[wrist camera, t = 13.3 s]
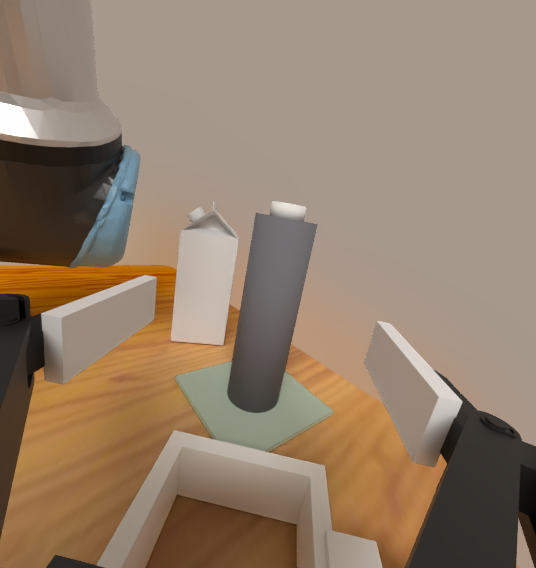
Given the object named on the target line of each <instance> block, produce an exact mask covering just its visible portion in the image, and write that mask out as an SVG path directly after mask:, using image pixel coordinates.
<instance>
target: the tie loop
mask: <svg viewBox="0 0 536 568" xmlns="http://www.w3.org/2000/svg"><path fill="white" fill-rule="evenodd" d="M176 495H181V496H185V497H189V498H193V499H197V500H201V501H205V502H209V503H213V504H217V505H221V506H225V507H229V508H233V509H237V510H241V511H245V512H249V513H253V514H257V515H261V516H265V517H269V518H273V519H277V520H281V521H285V522H289V523H293V524H297V568H383V567H382V563H381V559H380V555H379V551H378V547H377V543H376V541H373V540H369V539H365V538H361V537H357V536H353V535H349V534H345V533H341V532H337V531H333V530H332V522H331V514H330V505H329V497H328V488H327V480H326V471H325V466H324V465H320V464H316V463H312V462H308V461H303V460H299V459H295V458H291V457H286V456H282V455H278V454H274V453H269V452H265V451H261V450H257V449H252V448H248V447H244V446H240V445H235V444H231V443H227V442H223V441H218V440H214V439H210V438H206V437H201V436H197V435H193V434H189V433H184V432H180V431H176V430H174V431H173V433H172V435H171V436H170V438H169V440H168V442H167V443H166V445H165V447H164V449H163V450H162V452H161V454H160V455H159V457H158V459H157V461H156V462H155V464H154V466H153V468H152V469H151V471H150V473H149V474H148V476H147V478H146V480H145V481H144V483H143V485H142V487H141V488H140V490H139V492H138V493H137V495H136V497H135V499H134V500H133V502H132V504H131V506H130V507H129V509H128V511H127V512H126V514H125V516H124V518H123V519H122V521H121V523H120V525H119V526H118V528H117V530H116V531H115V533H114V535H113V537H112V538H111V540H110V542H109V544H108V545H107V547H106V549H105V550H104V552H103V554H102V556H101V557H100V559H99V561H98V563H97V564H96V565H97V566H101V567H104V568H145V567H146V565H147V562H148V560H149V558H150V556H151V553H152V551H153V549H154V546H155V544H156V542H157V539H158V537H159V535H160V532H161V530H162V528H163V525H164V523H165V521H166V519H167V516H168V514H169V512H170V509H171V507H172V505H173V502H174V500H175V498H176Z"/></svg>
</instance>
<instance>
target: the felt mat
mask: <svg viewBox="0 0 536 568" xmlns="http://www.w3.org/2000/svg"><path fill="white" fill-rule="evenodd" d="M231 364H232V361H230V362H227V363H223V364H219V365H215V366H211V367H207V368H203V369H200V370H196V371H192V372H188V373H184V374H180V375H176V376H175V380H176V382H177V384H178V385H179V387H180V388H181V390H182V392H183V393H184V395H185V396H186V398H187V399H188V401H189V403H190V404H191V406H192V407H193V409H194V411H195V412H196V414H197V415H198V417H199V418H200V420H201V422H202V423H203V425H204V426H205V428H206V429H207V431H208V433H209V434H210V436H211V437H212V439H214V440H218V441H223V442H227V443H231V444H235V445H240V446H244V447H248V448H252V449H257V450H261V451H265V452H270V451H272V450H274V449H275V448H277V447H279V446H280V445H282V444H284V443H286V442H287V441H289V440H291V439H292V438H294V437H296V436H297V435H299V434H301V433H303V432H304V431H306V430H308V429H309V428H311V427H313V426H315V425H316V424H318V423H320V422H321V421H323V420H325V419H327V418H328V417H330V416H332V415H333V412H334V411H333V410H332V409H331V408H329V407H328V406H327V405H326V404H324V403H323V402H322V401H321V400H320V399H318V398H317V397H316V396H315V395H313V394H312V393H311V392H310V391H309V390H307V389H306V388H305V387H304V386H303V385H301V384H300V383H299V382H298V381H296V380H295V379H294V378H293V377H292V376H290V375H289V374H288V373H287V372H284V377H283V381H282V386H281V390H280V395H279V399H278V403H277V405H276V406H275V407H274V408H273V409H271V410H269V411H267V412H262V413H252V412H247V411H244V410H241V409H239V408H238V407H236V406H235V405H234V404H233V403H232V402H231V401H230V400H229V398H228V395H227V389H228V383H229V377H230V371H231Z"/></svg>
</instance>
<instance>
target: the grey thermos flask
mask: <svg viewBox="0 0 536 568" xmlns="http://www.w3.org/2000/svg"><path fill="white" fill-rule="evenodd" d="M305 213H306V207H303V206H298V205H294V204H289V203H283V202H277V201H272V205H271V211H270V215H264V214H258V213H256V216H255V222H254V228H253V234H252V240H251V247H250V253H249V259H248V265H247V271H246V278H245V284H244V290H243V296H242V302H241V309H240V315H239V321H238V327H237V333H236V340H235V346H234V352H233V358H232V364H231V371H230V377H229V383H228V389H227V395H228V398H229V400H230V401H231V402H232V403H233V404H234V405H235V406H236V407H238V408H239V409H241V410H244V411H247V412H252V413H262V412H267V411H269V410H271V409H273V408H274V407H275V406H276V405H277V403H278V399H279V395H280V390H281V386H282V381H283V377H284V372H285V368H286V363H287V359H288V354H289V350H290V345H291V341H292V336H293V332H294V327H295V322H296V318H297V313H298V309H299V305H300V300H301V296H302V291H303V287H304V282H305V278H306V273H307V269H308V264H309V260H310V255H311V251H312V246H313V242H314V237H315V233H316V228H317V224H313V223H308V222H304V217H305Z"/></svg>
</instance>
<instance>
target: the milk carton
mask: <svg viewBox="0 0 536 568" xmlns="http://www.w3.org/2000/svg"><path fill="white" fill-rule="evenodd" d="M216 208H217V202H216V201H213V209H212V211H210V212H209V213H207V214H205V213H204V211H203V210H202V208H201V207H200V208H198V209H196V210H194V211H193V212H191V213H189V214H188V215H187V216H188V218H189V219H190V221H191V222H192V223H191V224H190V225H188V226H186V227H185V228H183V229H182V230H181V231H180V240H179V252H178V262H177V274H176V285H175V296H174V308H173V319H172V330H171V341H175V342H187V343H199V344H211V345H224V339H225V332H226V325H227V318H228V311H229V304H230V297H231V291H232V284H233V277H234V270H235V263H236V256H237V249H238V243H239V239H238V236H237V234H236V233H235V231H234V230H233V229H232V228H231V227H230V225H229V224H228V223H227V222H226V221H225V220H224V218H223V217H222V216H221V215H220V214H219V213H218V211H217V210H216Z"/></svg>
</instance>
